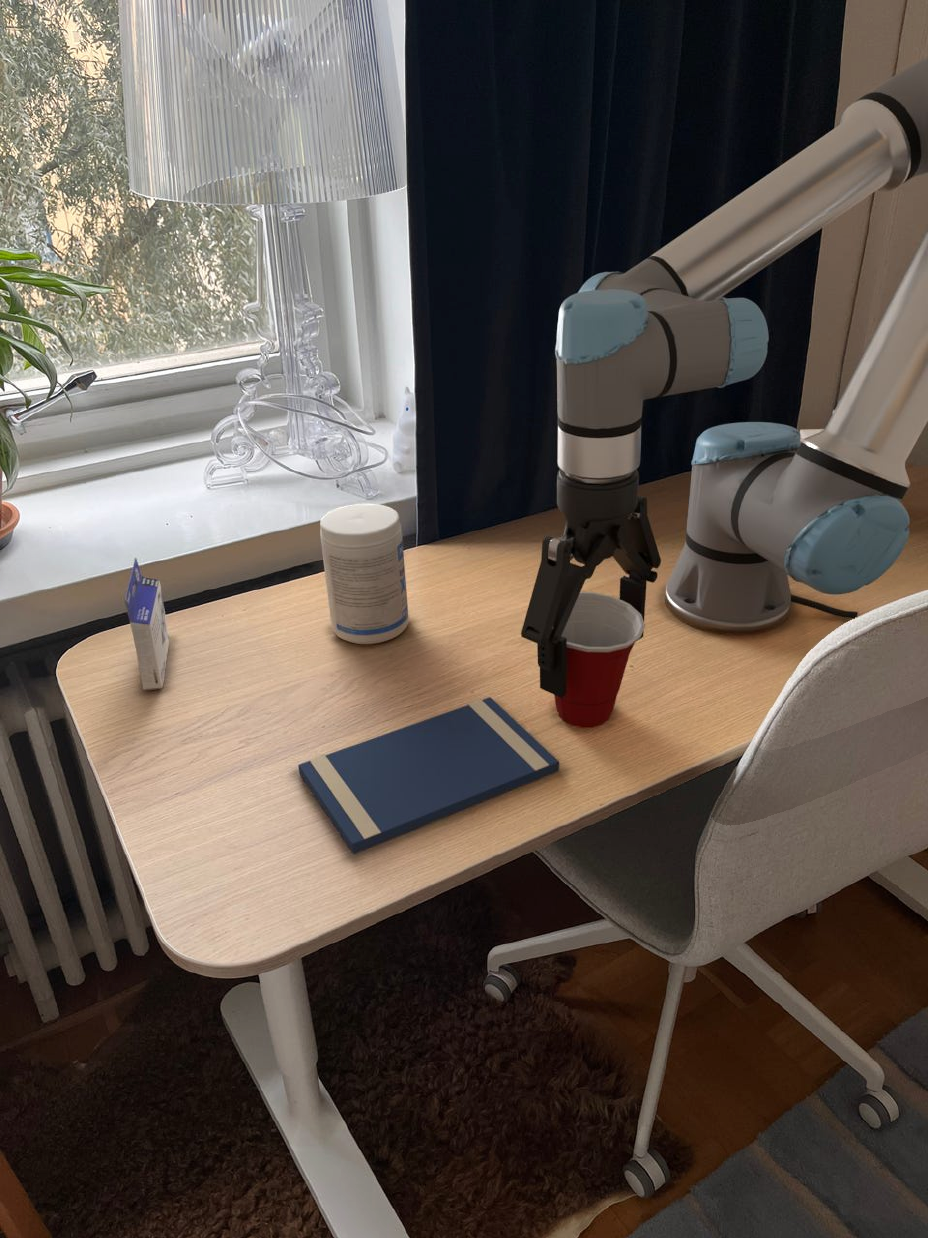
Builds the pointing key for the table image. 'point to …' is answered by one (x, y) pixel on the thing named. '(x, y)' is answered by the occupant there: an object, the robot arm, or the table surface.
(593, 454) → the robot arm
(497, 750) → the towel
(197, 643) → the table surface
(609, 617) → the plastic cup
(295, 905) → the table surface
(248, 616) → the table surface
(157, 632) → the ink box
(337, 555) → the supplement tub
